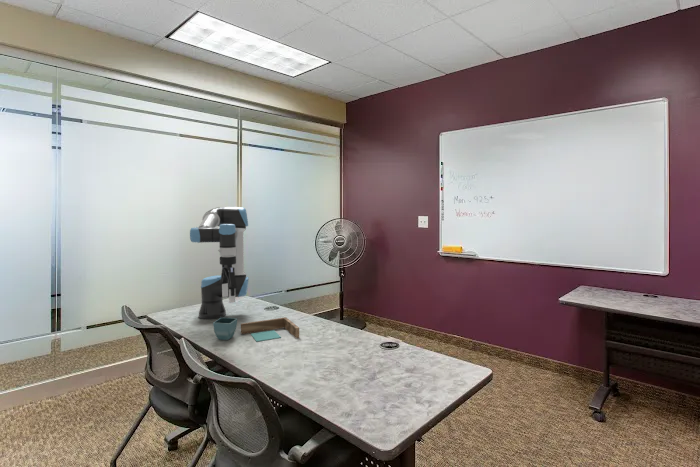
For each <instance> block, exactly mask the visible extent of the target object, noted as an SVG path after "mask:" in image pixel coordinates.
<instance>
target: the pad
mask: <svg viewBox="0 0 700 467" xmlns="http://www.w3.org/2000/svg"><path fill="white" fill-rule="evenodd" d="M250 336H251V337H252V338H253V339H254V340H255V342H256V343H258V342H263V341H271V340H276V339H281V338H282V336H281V335H280V334H279V333H278V332H276V330H275V329H272V330H266V331H259V332H253V333H250Z"/></svg>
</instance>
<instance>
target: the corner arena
mask: <svg viewBox="0 0 700 467" xmlns="http://www.w3.org/2000/svg"><path fill="white" fill-rule="evenodd" d="M278 329H285V330H286V331H287V332H288V333H290V334H291V335H292V336H293V337H294V338H295V339H300V326H298V325H296V324H295V323H294V322H293V321H292V320H290V319H289V318H288V317H286V316H285V317H278V318H271V319H263V320H258V321H249V322H244V323H243V322H242V323H240V334H241V335H244V334H251V333H258V332H264V331H271V330H278Z"/></svg>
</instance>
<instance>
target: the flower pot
mask: <svg viewBox="0 0 700 467" xmlns="http://www.w3.org/2000/svg"><path fill="white" fill-rule="evenodd" d="M237 325H238V318H235V317H220V318H217V320H215V321H213V322H212V326H213V332H214V334H215V337H216V339H217V340H223V341H229V340H230V339H232V338H233V336H234V334H235V333H236V330H237Z"/></svg>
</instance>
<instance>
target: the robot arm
mask: <svg viewBox="0 0 700 467" xmlns="http://www.w3.org/2000/svg"><path fill="white" fill-rule="evenodd" d="M201 220H202V221H201V222H200V223H199V226H198V227H197V226H196V227H191V228H190V230H189V239H190V241H191V243H197V244H199V243H201V244H202V243H219V249H218V250H217V251H218V252H219V265H221V274H220V275H217V274H216V275H211V276H207V277H204V278H202V280H201V281H200V284H201V286H200V288H201V289H200V291H201V293H200V294H201V304H200V307H199V310H198V318H200V319H201V320H202V319H203V320H205V319H206V320H213V319H220V318H224V317H225V316H226V314H227V311H226V307H225V305H224V302H223V298H224V299H225V298H228V303H229V304H231V303H232V304H233V303H236V298H240V297H241V298H242V297H245V296H247V294H248V288H249V277H248V276H247V273H245V272H244V271H245V270H244V268H245V267H244V265H245V264H244V232H245V231H246V229H247V227H249V221H248V212H247V209H246V208H245V207H243V206H241V207H239V206H226V207H225V206H218V207H215V208H212V209H210V210H208V211H206V212H205V213H204V214H203V216H202V219H201Z"/></svg>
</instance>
